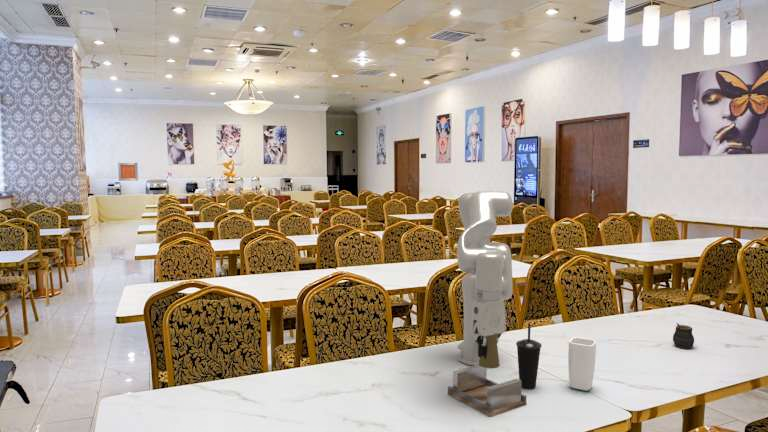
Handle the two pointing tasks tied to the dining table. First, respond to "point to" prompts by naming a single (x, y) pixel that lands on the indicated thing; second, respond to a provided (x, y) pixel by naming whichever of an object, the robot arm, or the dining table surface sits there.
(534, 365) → the drinking cup
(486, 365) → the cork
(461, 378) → the sliding jaw
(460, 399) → the base
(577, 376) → the cup
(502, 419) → the dining table surface
